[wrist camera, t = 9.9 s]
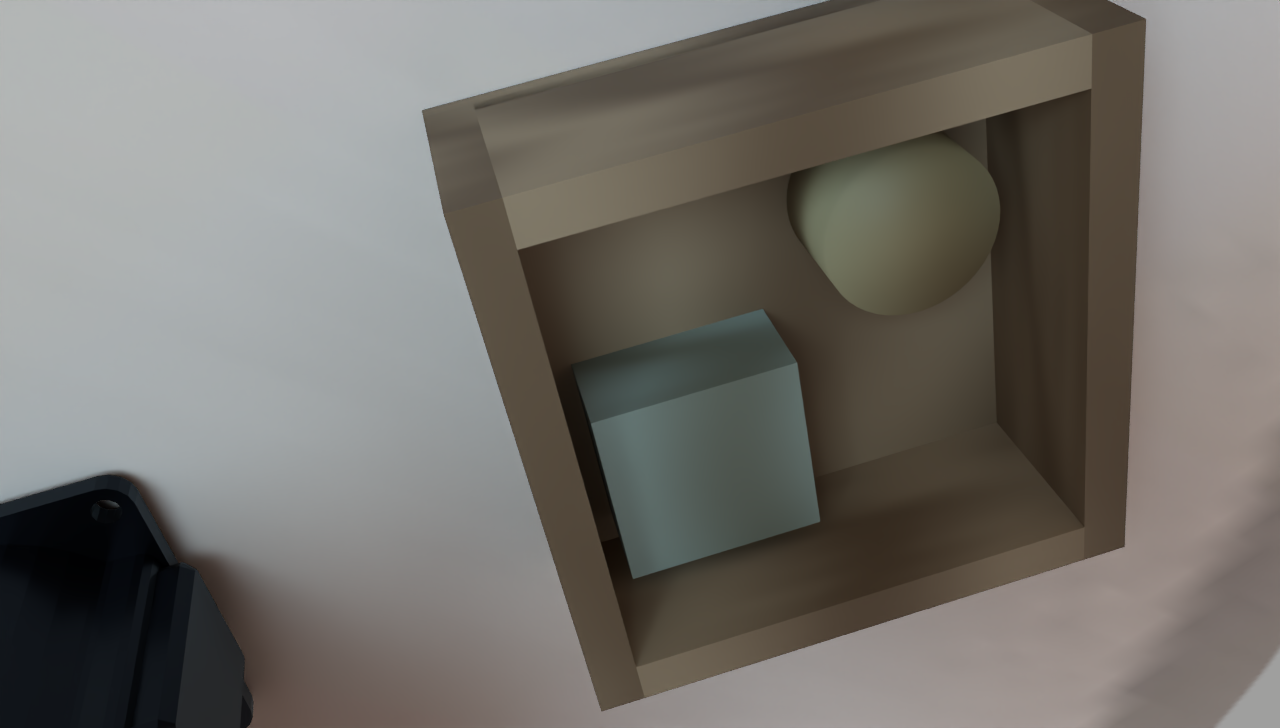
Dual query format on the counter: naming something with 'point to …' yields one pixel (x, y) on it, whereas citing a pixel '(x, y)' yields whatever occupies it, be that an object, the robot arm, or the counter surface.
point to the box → (809, 316)
